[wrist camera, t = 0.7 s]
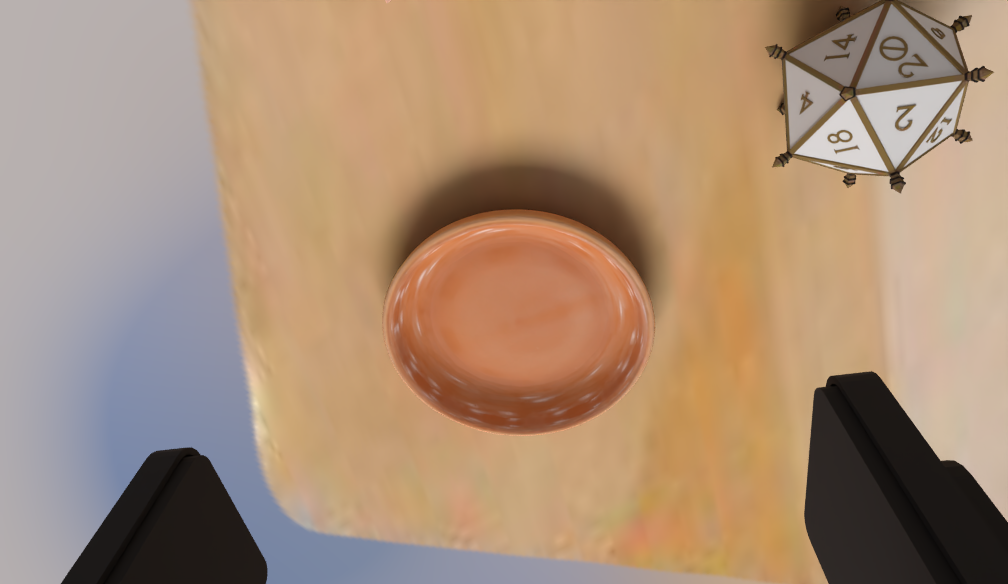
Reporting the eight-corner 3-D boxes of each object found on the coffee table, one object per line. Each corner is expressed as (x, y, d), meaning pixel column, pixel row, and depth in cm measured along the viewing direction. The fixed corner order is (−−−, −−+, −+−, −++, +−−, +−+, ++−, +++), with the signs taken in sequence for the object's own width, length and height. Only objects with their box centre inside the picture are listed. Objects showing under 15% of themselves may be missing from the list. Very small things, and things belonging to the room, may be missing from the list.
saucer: (487, 439, 47) (484, 471, 44) (338, 278, 40) (324, 305, 38) (692, 342, 42) (702, 372, 39) (560, 139, 35) (561, 159, 32)
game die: (770, 56, 36) (701, 45, 28) (949, -41, 30) (925, -89, 22) (832, 209, 35) (781, 240, 28) (1025, 139, 30) (1026, 153, 22)
